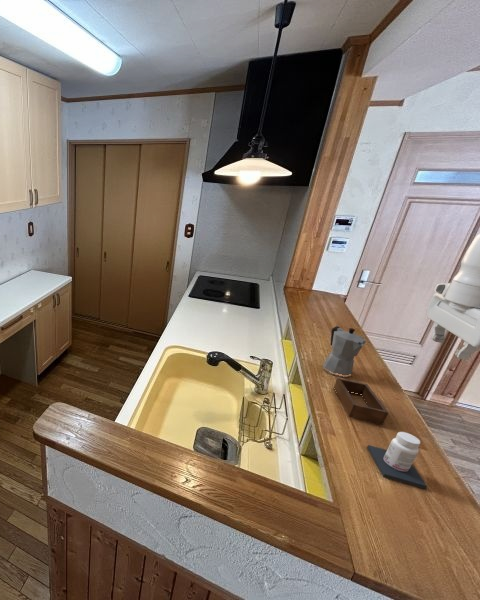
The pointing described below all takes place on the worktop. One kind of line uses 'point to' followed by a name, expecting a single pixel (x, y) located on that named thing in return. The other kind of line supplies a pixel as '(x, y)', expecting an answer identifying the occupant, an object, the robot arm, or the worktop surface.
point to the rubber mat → (391, 473)
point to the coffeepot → (343, 351)
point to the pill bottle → (402, 451)
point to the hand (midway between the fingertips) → (447, 349)
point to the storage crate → (370, 413)
